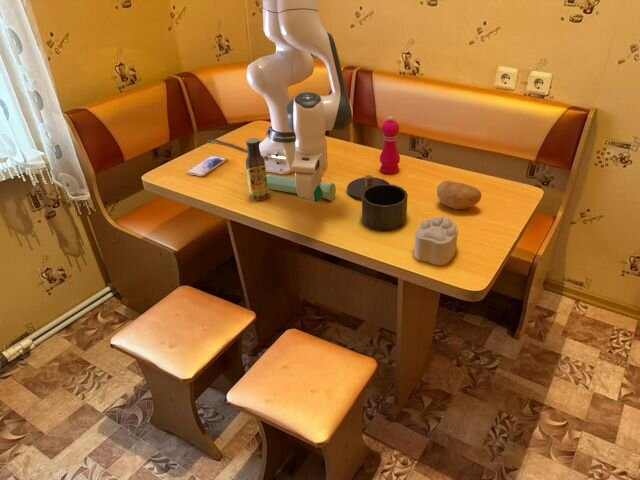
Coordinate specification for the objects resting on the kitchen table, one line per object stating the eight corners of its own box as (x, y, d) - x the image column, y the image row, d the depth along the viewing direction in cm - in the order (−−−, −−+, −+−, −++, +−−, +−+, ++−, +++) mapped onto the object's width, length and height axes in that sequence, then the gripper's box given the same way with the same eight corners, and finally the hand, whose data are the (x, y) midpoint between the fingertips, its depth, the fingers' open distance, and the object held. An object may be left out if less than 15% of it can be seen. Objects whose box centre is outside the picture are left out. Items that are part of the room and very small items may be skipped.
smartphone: (226, 158, 187) (202, 175, 176) (227, 160, 188) (202, 177, 177) (211, 154, 189) (186, 171, 179) (211, 157, 190) (186, 173, 179)
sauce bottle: (253, 203, 162) (243, 146, 150) (248, 194, 167) (238, 138, 154) (272, 198, 164) (264, 142, 152) (266, 190, 169) (258, 134, 156)
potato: (475, 218, 152) (479, 195, 147) (431, 209, 157) (433, 187, 152) (482, 203, 159) (486, 181, 154) (440, 195, 164) (442, 173, 159)
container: (261, 172, 166) (329, 183, 158) (270, 172, 171) (336, 182, 163) (260, 190, 167) (327, 201, 160) (269, 189, 173) (334, 200, 165)
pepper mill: (400, 174, 176) (401, 120, 164) (379, 175, 176) (380, 120, 164) (399, 165, 182) (401, 112, 170) (379, 165, 182) (379, 112, 170)
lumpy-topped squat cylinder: (410, 257, 137) (411, 231, 132) (427, 234, 146) (430, 208, 141) (445, 267, 133) (448, 241, 128) (461, 243, 142) (465, 217, 137)
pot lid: (343, 199, 163) (342, 185, 160) (351, 178, 174) (351, 165, 171) (387, 203, 161) (387, 188, 158) (393, 181, 172) (394, 168, 169)
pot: (358, 229, 149) (357, 204, 144) (366, 205, 160) (366, 182, 154) (403, 233, 147) (404, 208, 142) (408, 209, 157) (409, 185, 152)
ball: (304, 204, 148) (303, 189, 145) (309, 196, 152) (308, 181, 149) (320, 206, 147) (319, 191, 144) (325, 197, 151) (324, 183, 148)
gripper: (311, 137, 148) (313, 179, 157) (290, 168, 132) (294, 212, 141) (331, 139, 147) (333, 181, 156) (312, 171, 131) (315, 215, 140)
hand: (314, 196), depth 148 cm, fingers closed on ball, 5 cm apart
